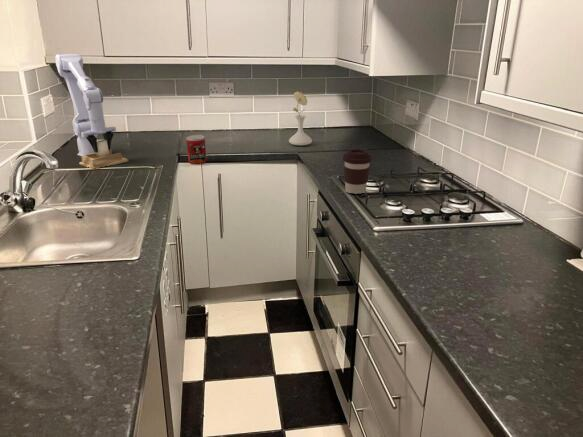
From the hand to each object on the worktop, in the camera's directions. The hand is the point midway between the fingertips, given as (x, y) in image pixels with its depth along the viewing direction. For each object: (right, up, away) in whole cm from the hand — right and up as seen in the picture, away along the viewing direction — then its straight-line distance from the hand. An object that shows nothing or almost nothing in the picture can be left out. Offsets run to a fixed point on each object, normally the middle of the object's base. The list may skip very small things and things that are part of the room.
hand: (102, 150), depth 201 cm
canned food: (+40, -5, +3) cm, 41 cm away
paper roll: (0, -2, +1) cm, 2 cm away
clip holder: (0, -5, +2) cm, 5 cm away
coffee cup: (+104, -20, -32) cm, 111 cm away
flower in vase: (+85, +8, +30) cm, 91 cm away
